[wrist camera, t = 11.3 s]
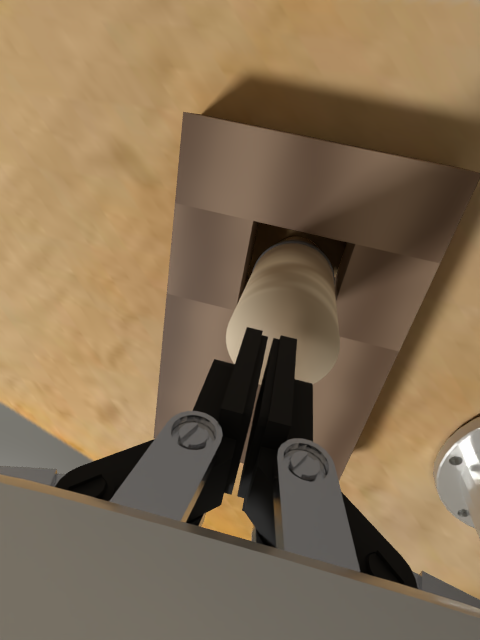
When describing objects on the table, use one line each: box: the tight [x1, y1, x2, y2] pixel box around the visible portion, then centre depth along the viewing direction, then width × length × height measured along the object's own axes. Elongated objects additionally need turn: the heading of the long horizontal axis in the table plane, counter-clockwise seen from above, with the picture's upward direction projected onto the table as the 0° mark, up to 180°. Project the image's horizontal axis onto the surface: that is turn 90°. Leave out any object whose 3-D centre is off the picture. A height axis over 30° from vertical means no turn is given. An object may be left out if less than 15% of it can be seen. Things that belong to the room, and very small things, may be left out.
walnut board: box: [154, 112, 480, 481], centre depth 24 cm, size 14×22×3 cm, turn 170°
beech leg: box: [226, 236, 340, 385], centre depth 19 cm, size 4×4×10 cm
